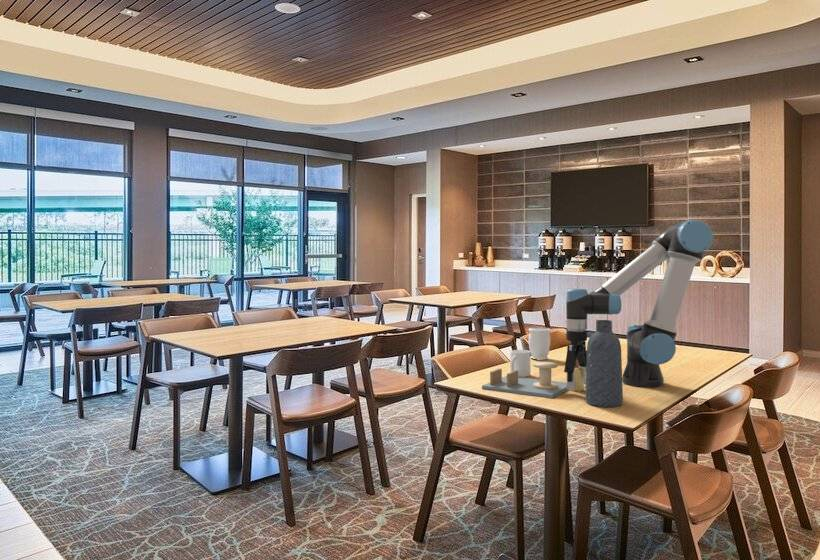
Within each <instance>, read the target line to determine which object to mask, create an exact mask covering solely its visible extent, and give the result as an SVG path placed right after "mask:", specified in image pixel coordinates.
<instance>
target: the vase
mask: <svg viewBox="0 0 820 560" xmlns="http://www.w3.org/2000/svg"><path fill="white" fill-rule="evenodd" d="M588 338H589V339H587V340H588V341H587V344H586V350H587V364H586V384H585V389H584V390H585V393H584V394H585V395H584V396H585V398H584V400H585V403H587V405H591V406H595V407H600V408H601V407H602V408H615V407H620V406H622V405H623V402H624V394H623V393H624V390H623V382H622V376H623V364H622V363H623V362H622V346H621V345H622V344H621V340H620V338H619V337H618V335H616V334H615V333H614V332H613V322H612V320H608V319H596V320H595V332H593V333H592V334H591V335H590V337H588Z"/></svg>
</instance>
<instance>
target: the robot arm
mask: <svg viewBox="0 0 820 560" xmlns="http://www.w3.org/2000/svg"><path fill="white" fill-rule="evenodd" d="M713 240H714V234H713V231H712V229H711V227H710V226H709V224H707V223H706V222H705V221H702V220H699V219H698V220H697V219H687V220H685V221H677V222H675V223H673V224H672V225H670V226H669V227H667V229H665V231H663V232H662V233H661V234H660V235H659V236H657V237H656V238H655V239H653V241H652V242H651V246H649V247H648V248H647V249H645V250H644V251H643V252H641V253H640V254H639V255H638V256H637V257H635V258H634V259H633V260H632V261H631V262H629V263H628V264H627V265H625V266H624V267H623V268H621V270H619V271H618V272H617V273H615V274H614V275H613V276H612V277H610V278H609V279H608V280H607V281H605V282H604V283H603V284H601V286H599V287H598V288H596V289H595V290H594V291H591V292H589V293H588V290H587V289H585V288H570V289H568V290H567V291H566V300H565V302H566V303H565V304H566V307H565V309H566V312H565V313H566V320H565V323H566V329H567V330H566V331H565V335H566V336H565V337H566V338H565V339H566V340H567V341H570V344H567V347H566V350H567V351H566V357H565V364H564V370H563V373H566V383H567V390H566V391H572V392H576V391H575V373H573V372H574V368H575V364H576V360H577V359H578V362H579V366H581V367H578V368H583V369H584V385H586V364H587V352H586V350H587V344H586V343H587V340H588V331H587V330H588V315H610V316H611V315H618V314H620V313H621V312H622V304H623V303H622V298H621V296H622V295H623V294H624V293H625V292H627V291H628V290H629V289H630V288H632V287H633V286H634V285H636V284H637V283H639V281H641V280H642V279H643V278H645V277H646V276H647V275H649V274H650V273H651V272H652V271H654V270H655V269H656V268H658V266H660V265H661V264H662V263H664V262H666V261H668V263H667V267H666V270H665V273H664V276H663V279H662V282H661V285H660V288H659V291H658V294H657V296H656V300H655V302H654V306H653V309H652V312H651V316H650V318H649V319H648V320H647V321H645V322H643V324H630V325H628V326H627V329H626V331H627V332H626V348H627V349H626V353H627V354H626V358H627V359H626V365H625V367H624V371H623V372H622V384H626V385H629V386H635V387H641V388H642V387H643V388H652V387H653V388H654V387H661V386H664V383H665V377H664V376H663V375H664V374H663V373H662V372H663V371H662V370H661V367H660V365H665V364H666V363H668V362H670V361H671V360H672V359H673V358H674V356H675V355H676V349H677V347H676V346H677V345H676V341H675V340H676V337H677V335H678V334H677V333H678V332H677V330H676V328H675V325H676V322H677V320H678V317H679V313H680V310H681V308H682V307H681V306H682V305H683V302H684V299H685V298H684V297H685V296H686V292H687V289H688V286H689V283H690V280H691V277H692V275H693V272H694V269H695V266H696V264H697V263H700V262H702V259H703V256H704V253H705V251H706V250H707V249H709V248H710V247H711V245H712V243H713Z"/></svg>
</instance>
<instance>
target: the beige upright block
mask: <svg viewBox="0 0 820 560" xmlns="http://www.w3.org/2000/svg"><path fill="white" fill-rule="evenodd" d="M573 373H575V391H574V392H580V393H581V392H582V391H584V390H585V389H584V388H585V386H584V385H585V384H584V369H583V368H574V372H573Z"/></svg>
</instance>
